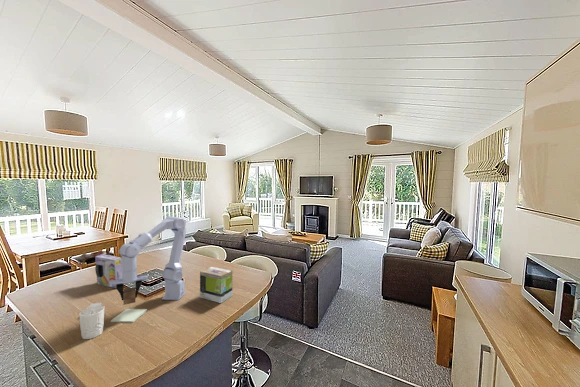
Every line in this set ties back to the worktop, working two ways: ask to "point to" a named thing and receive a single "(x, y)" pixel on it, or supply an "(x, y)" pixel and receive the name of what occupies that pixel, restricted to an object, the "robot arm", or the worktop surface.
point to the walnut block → (129, 295)
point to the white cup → (91, 321)
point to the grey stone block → (95, 304)
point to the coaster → (129, 315)
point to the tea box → (216, 284)
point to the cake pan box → (108, 269)
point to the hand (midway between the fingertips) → (129, 298)
